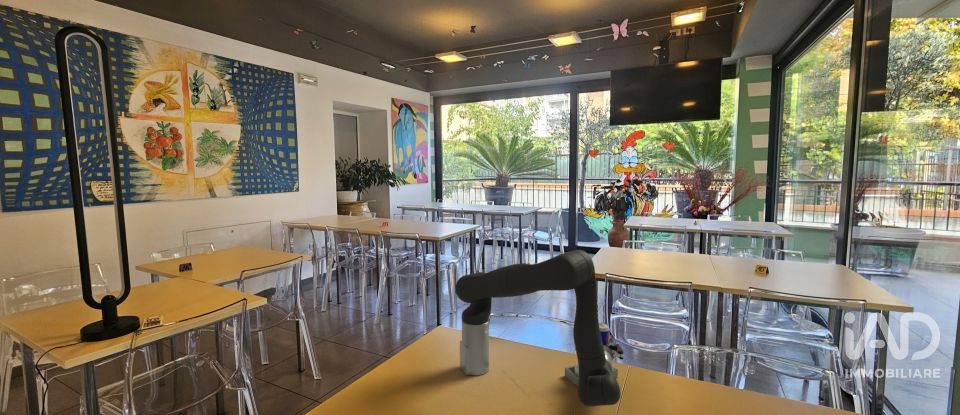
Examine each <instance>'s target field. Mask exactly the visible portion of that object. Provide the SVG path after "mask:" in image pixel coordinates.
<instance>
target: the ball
mask: <svg viewBox="0 0 960 415" xmlns="http://www.w3.org/2000/svg"><path fill="white" fill-rule="evenodd" d="M574 366H575V374H576V375H577V376H578V377H579V365H578V362H576V363H574Z"/></svg>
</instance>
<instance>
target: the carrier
mask: <svg viewBox="0 0 960 415" xmlns="http://www.w3.org/2000/svg"><path fill="white" fill-rule="evenodd" d="M618 375H619V369H617V368H616V367H614V368H613V376H614V377H615V379H616V380H617V379H618ZM564 377H566V378H567V379H568V380H569V381H570V382H572V383H573V384H574V385H575V386H576V387H578V379H579V377H578V376H577V375H576V374H575V365H572V366H567V367H564Z"/></svg>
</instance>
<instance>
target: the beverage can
mask: <svg viewBox="0 0 960 415" xmlns="http://www.w3.org/2000/svg"><path fill="white" fill-rule="evenodd" d="M599 328H600V333H601V338H602V343H603V345H604V346H605V345H606V344H607V343H608V344H609V338H610V334H611V333H610V326H609V325H608V324H606V323H603V322H599Z"/></svg>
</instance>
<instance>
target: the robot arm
mask: <svg viewBox="0 0 960 415" xmlns="http://www.w3.org/2000/svg"><path fill="white" fill-rule="evenodd" d="M454 288H455V294H456V296H457V298H458V299H459V300H460V301H461V302H463V303H467V304H469V305H468V306H467V307H466V308H465V309H463V311H462V313H461V340H460V341H459V368H460V369H461V371H462V372H463V373H464V375H465V376H481V375H484V374H486V373H488V372H489V370H490V315H491V313H492V300H493V299H492V298H496V299H498V298H511V297H519V296H526V295H530V294H533V293H536V292H540V291H571V290H574V296H575V313H574V321H573V329H572V330H573V333H572V336H573V343H574V349H575V352H576V357H577V363H578V365H579V379H578V386H577V396H578V400H579V401H580V403H582V404H583V405H584V406H585V407H601V406H602V407H603V406H613V405H616V404H617V403H619V402H620V400H621V395H622V394H621V388H620V385H619V382H618V380H617V378H616V379H615V377H614V376H613V368H615V367H614V366H615V365H614V359H615V358H618V360H621V361H623V360H624V353H625V352H624V350H623V348H622V346H621V345H620V344H619V343H614V340H613V339H612V338H610V337H609V344H608V343H607V344H606V345H605V346H604V345H603V343H602V338H601V333H600V328H599V323H600V322H599V312H598V297H597V284H596V270H595V264H594V260H593V259H592V257H591V256H590V255H589V254H588V253H587V252H586V251H584V250H582V249H574V250H570V251H567V252H564V253H561V254H558V255H555V256H553V257H550V258H548V259H546V260H543V261H541V262H538V263H531V264H530V263H525V262H523V263H522V262H521V263H514V264H509V265H505V266H503V267H498V268H497V269H496V268H495V269H493V270H490V271H487V272H484V271H483V272H482V271H479V272H474V273H469V274H465V275H462V276H461V277H459V279H458V280H457V282H456V283H455V287H454Z"/></svg>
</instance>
